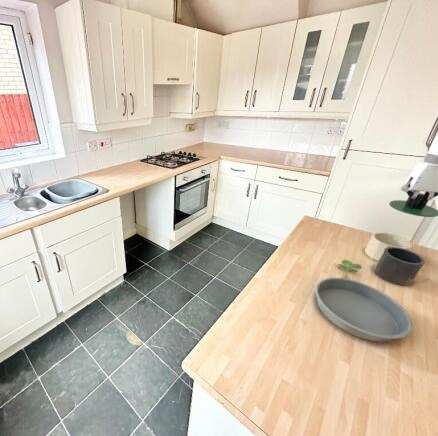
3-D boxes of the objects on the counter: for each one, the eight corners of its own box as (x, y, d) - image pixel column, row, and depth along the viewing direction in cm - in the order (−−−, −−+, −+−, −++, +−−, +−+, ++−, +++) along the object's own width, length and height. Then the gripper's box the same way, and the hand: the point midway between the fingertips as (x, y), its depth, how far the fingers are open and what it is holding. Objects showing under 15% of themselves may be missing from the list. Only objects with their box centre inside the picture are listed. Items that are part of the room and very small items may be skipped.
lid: (423, 204, 97) (432, 189, 94) (447, 220, 85) (458, 203, 82) (381, 201, 101) (388, 186, 98) (399, 215, 89) (408, 199, 86)
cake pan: (404, 365, 65) (413, 355, 63) (303, 314, 80) (307, 304, 78) (406, 311, 81) (413, 301, 78) (320, 276, 96) (324, 267, 94)
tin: (392, 250, 110) (401, 234, 106) (409, 267, 99) (420, 250, 95) (359, 245, 113) (367, 230, 109) (372, 262, 103) (381, 245, 99)
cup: (400, 269, 99) (413, 249, 94) (418, 288, 89) (432, 267, 85) (368, 264, 102) (378, 244, 97) (381, 282, 92) (394, 261, 88)
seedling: (340, 283, 99) (345, 270, 101) (362, 285, 91) (366, 270, 93) (328, 273, 98) (333, 260, 100) (349, 274, 91) (354, 259, 93)
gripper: (462, 158, 85) (434, 205, 93) (404, 155, 89) (382, 201, 98) (480, 164, 78) (448, 214, 87) (417, 161, 83) (392, 209, 92)
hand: (413, 207), depth 92 cm, fingers closed on lid, 2 cm apart
